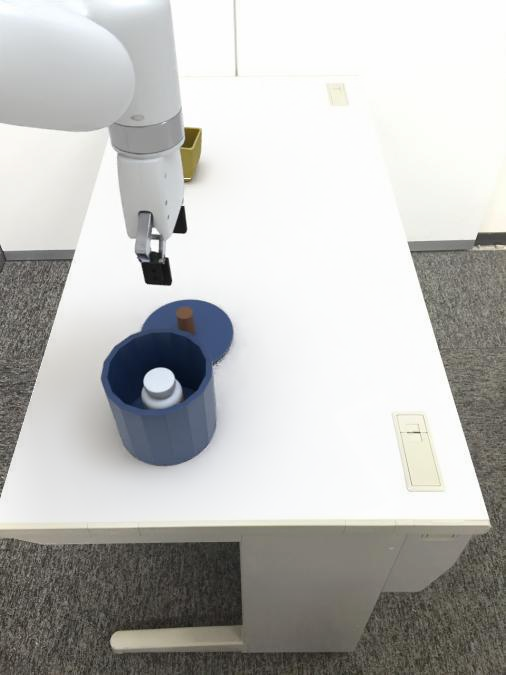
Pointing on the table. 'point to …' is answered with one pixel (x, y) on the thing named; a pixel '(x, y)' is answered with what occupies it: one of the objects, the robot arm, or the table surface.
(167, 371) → the supplement bottle
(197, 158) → the flower pot
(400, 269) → the table surface
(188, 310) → the tin lid
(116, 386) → the tin
